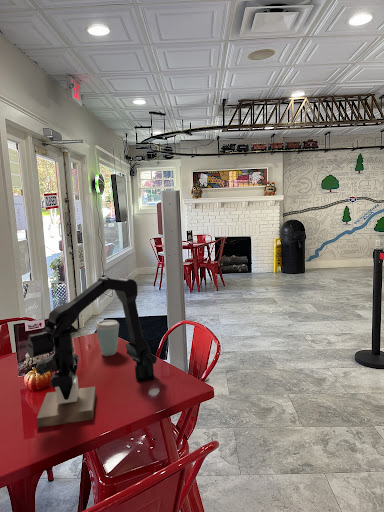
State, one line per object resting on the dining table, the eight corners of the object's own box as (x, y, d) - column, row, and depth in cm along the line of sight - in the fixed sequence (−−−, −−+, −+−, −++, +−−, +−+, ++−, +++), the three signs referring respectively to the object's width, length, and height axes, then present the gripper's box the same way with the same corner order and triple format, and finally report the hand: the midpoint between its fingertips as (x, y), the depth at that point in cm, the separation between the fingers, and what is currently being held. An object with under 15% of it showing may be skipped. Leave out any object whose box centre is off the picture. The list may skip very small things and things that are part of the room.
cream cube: (78, 392, 119) (77, 375, 119) (76, 401, 114) (75, 383, 113) (59, 395, 118) (58, 377, 118) (56, 404, 112) (55, 386, 112)
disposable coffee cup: (113, 347, 171) (111, 316, 169) (125, 352, 163) (123, 321, 161) (93, 353, 164) (90, 322, 162) (105, 360, 156) (102, 326, 154)
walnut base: (95, 394, 126) (95, 386, 125) (92, 419, 110) (92, 410, 110) (47, 401, 123) (46, 392, 122) (37, 427, 107) (36, 418, 107)
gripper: (42, 341, 122) (47, 385, 123) (29, 362, 103) (34, 413, 105) (76, 337, 124) (80, 380, 126) (69, 358, 106) (74, 408, 107)
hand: (67, 394), depth 116 cm, fingers closed on cream cube, 6 cm apart
